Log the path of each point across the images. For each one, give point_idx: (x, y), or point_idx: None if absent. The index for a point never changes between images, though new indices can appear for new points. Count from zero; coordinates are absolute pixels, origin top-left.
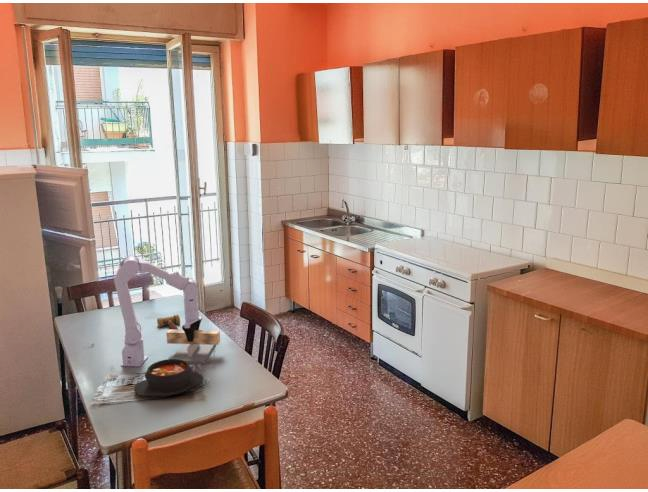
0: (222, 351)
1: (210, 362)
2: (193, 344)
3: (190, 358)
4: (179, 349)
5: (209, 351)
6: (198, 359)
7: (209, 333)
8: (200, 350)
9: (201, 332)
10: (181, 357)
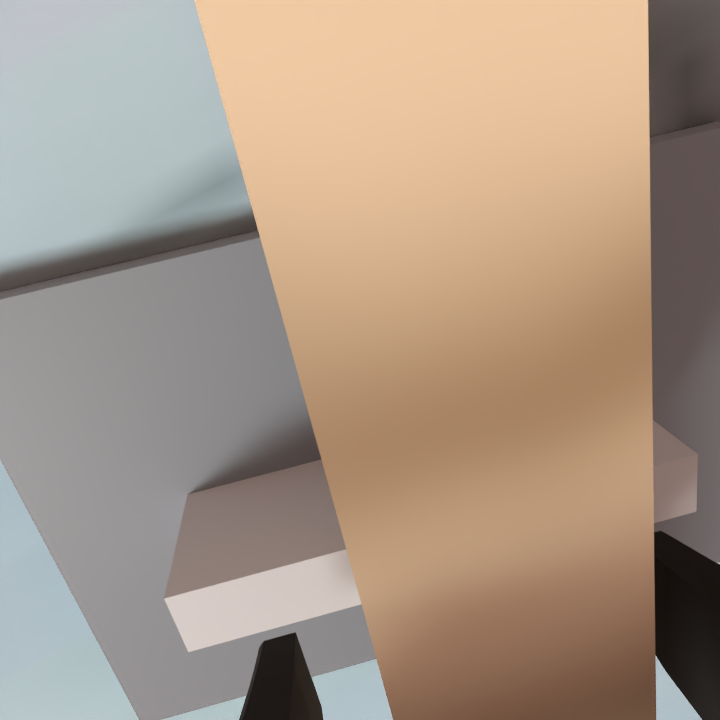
0: (176, 22)
1: (656, 30)
2: None
3: (665, 365)
4: None
5: None
6: (691, 234)
7: (647, 223)
8: None
9: (585, 552)
10: None
